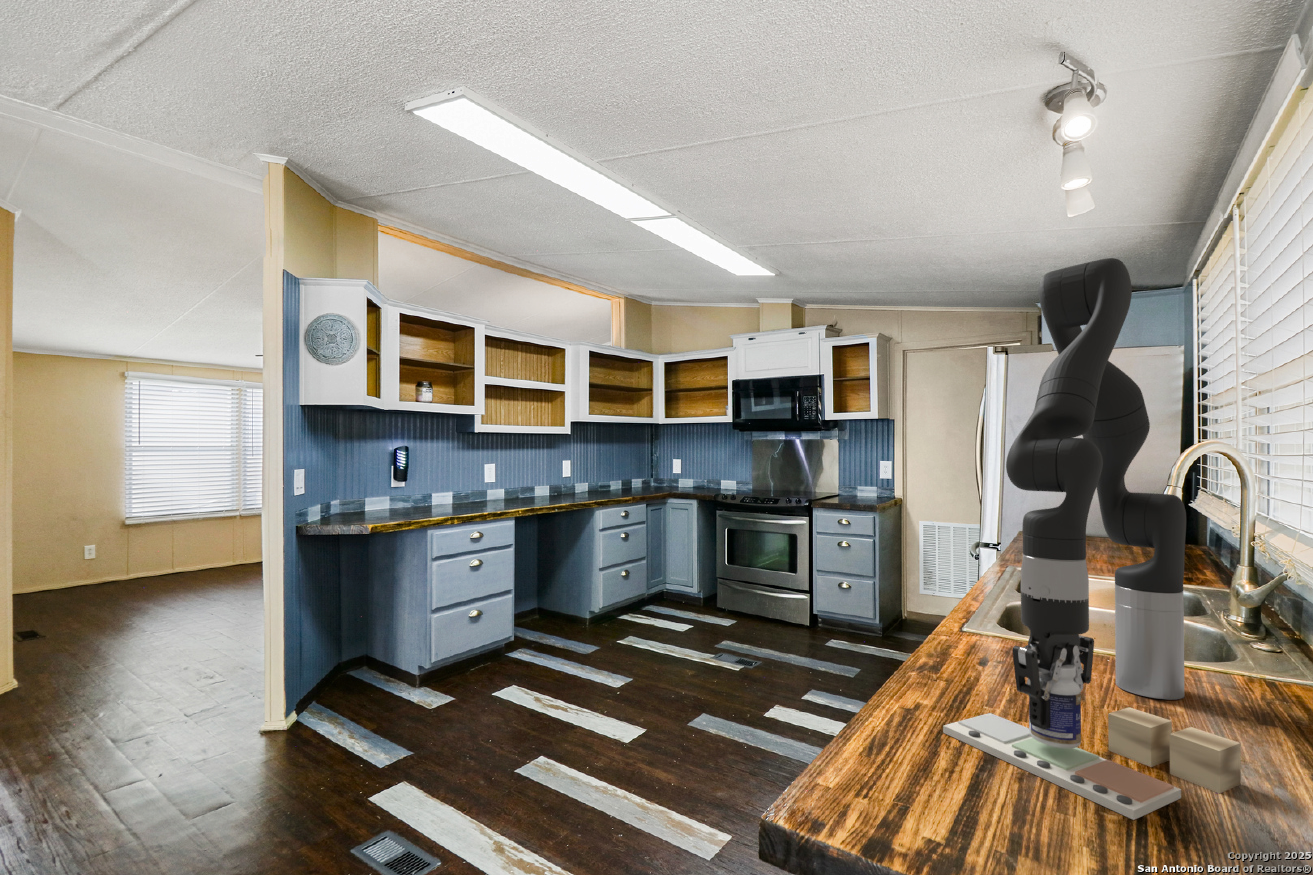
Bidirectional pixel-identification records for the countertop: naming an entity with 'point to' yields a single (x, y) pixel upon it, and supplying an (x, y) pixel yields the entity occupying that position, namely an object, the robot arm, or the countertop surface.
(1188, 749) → the maple block
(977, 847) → the countertop surface
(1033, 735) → the pill bottle
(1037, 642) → the robot arm
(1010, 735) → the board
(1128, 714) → the maple block
